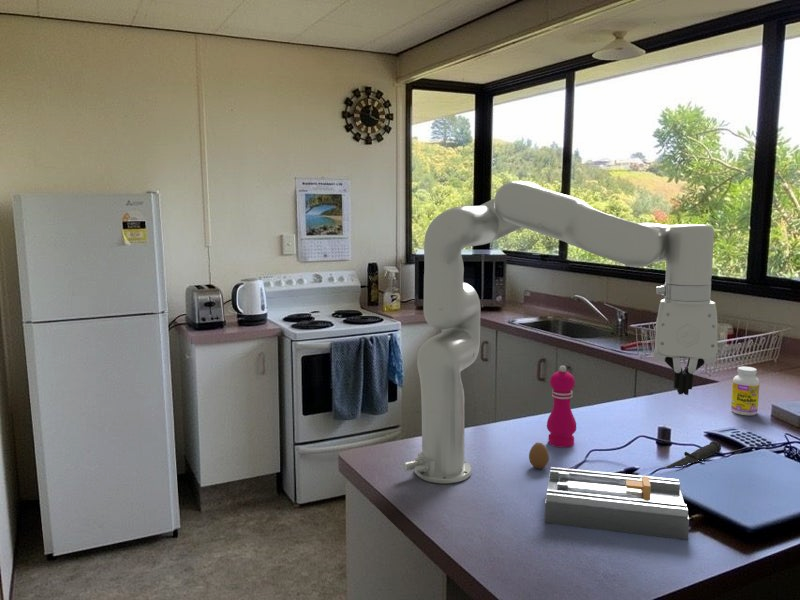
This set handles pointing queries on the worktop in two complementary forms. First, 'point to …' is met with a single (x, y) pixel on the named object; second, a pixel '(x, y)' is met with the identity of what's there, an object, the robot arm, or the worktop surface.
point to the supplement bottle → (745, 392)
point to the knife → (698, 454)
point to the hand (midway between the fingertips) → (682, 392)
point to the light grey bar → (603, 489)
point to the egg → (538, 456)
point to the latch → (641, 486)
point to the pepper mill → (561, 410)
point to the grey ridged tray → (617, 505)
